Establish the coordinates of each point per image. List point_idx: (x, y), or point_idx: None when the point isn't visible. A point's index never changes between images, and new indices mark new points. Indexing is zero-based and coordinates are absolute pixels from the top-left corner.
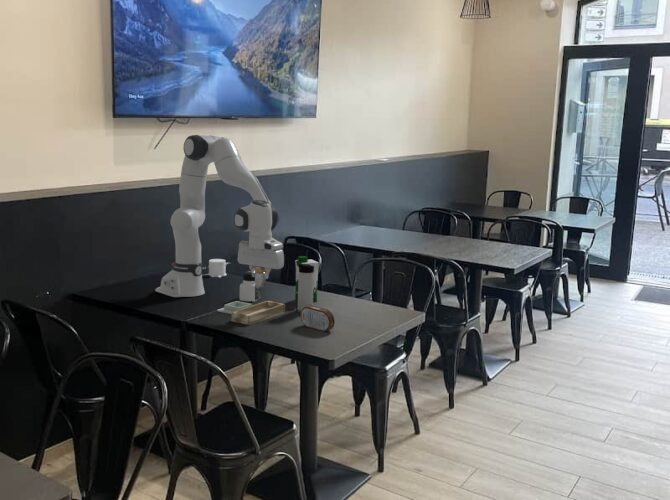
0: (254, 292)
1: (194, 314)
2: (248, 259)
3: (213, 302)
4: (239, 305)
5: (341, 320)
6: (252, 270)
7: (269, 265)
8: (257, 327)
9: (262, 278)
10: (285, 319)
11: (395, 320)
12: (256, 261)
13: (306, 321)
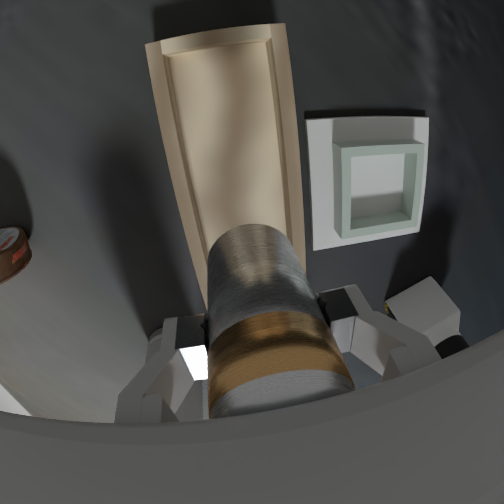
0: (400, 322)
1: (448, 32)
2: (492, 416)
3: (480, 201)
4: (392, 214)
5: (44, 341)
6: (375, 332)
7: (51, 450)
8: (106, 57)
9: (208, 306)
10: (127, 233)
11: (20, 392)
12: (328, 474)
13: (5, 235)
